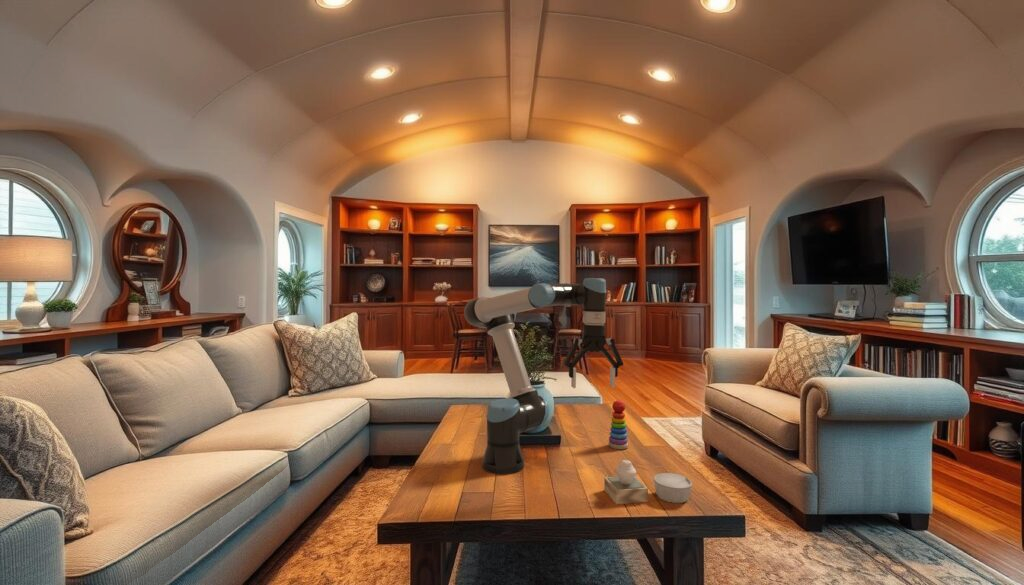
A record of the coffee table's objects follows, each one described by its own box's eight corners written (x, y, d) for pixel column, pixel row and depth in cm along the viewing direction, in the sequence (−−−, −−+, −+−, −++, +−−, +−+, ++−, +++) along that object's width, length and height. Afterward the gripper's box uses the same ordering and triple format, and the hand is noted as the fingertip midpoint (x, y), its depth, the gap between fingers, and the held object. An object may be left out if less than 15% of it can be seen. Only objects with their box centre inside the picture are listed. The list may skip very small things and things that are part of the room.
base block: (616, 504, 138) (616, 490, 138) (604, 489, 148) (604, 476, 148) (648, 501, 139) (647, 487, 139) (634, 487, 149) (634, 474, 149)
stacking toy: (630, 450, 184) (630, 403, 184) (610, 450, 184) (610, 403, 184) (626, 443, 192) (626, 398, 192) (606, 443, 192) (606, 398, 192)
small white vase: (622, 476, 147) (622, 454, 147) (640, 482, 143) (639, 459, 143) (611, 482, 143) (611, 460, 143) (629, 488, 139) (629, 465, 139)
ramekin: (695, 506, 136) (695, 488, 136) (656, 504, 138) (656, 486, 138) (688, 490, 147) (687, 473, 147) (651, 488, 149) (651, 471, 149)
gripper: (560, 325, 150) (559, 390, 151) (633, 325, 154) (632, 388, 155) (555, 323, 158) (554, 385, 158) (625, 323, 162) (624, 383, 162)
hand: (593, 386), depth 156 cm, fingers open, 13 cm apart
